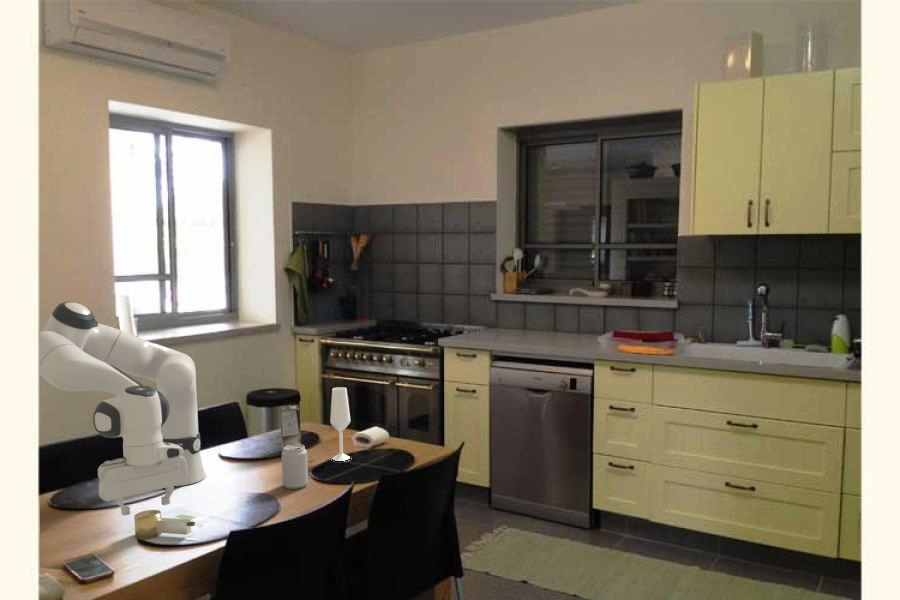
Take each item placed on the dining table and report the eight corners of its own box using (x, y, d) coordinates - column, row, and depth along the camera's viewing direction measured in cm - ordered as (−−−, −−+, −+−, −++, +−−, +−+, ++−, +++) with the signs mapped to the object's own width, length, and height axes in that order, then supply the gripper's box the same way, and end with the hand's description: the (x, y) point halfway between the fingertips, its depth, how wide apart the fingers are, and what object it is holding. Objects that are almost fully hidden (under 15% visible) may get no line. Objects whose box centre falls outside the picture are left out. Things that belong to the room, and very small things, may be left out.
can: (302, 490, 203) (300, 450, 202) (278, 489, 204) (276, 449, 204) (312, 482, 210) (310, 443, 209) (289, 481, 212) (287, 442, 211)
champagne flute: (337, 455, 238) (335, 386, 237) (355, 457, 236) (353, 387, 234) (327, 460, 232) (325, 390, 230) (345, 462, 230) (343, 391, 228)
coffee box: (301, 455, 238) (300, 409, 237) (282, 457, 237) (281, 411, 235) (299, 448, 247) (298, 404, 246) (281, 450, 245) (279, 405, 244)
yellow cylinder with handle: (129, 538, 167) (128, 518, 166) (145, 528, 173) (144, 509, 172) (187, 542, 164) (186, 522, 163) (201, 532, 170) (200, 512, 169)
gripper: (101, 465, 158) (104, 524, 159) (189, 447, 172) (192, 502, 173) (93, 459, 163) (96, 517, 164) (179, 442, 177) (182, 495, 178)
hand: (146, 509), depth 169 cm, fingers open, 8 cm apart
